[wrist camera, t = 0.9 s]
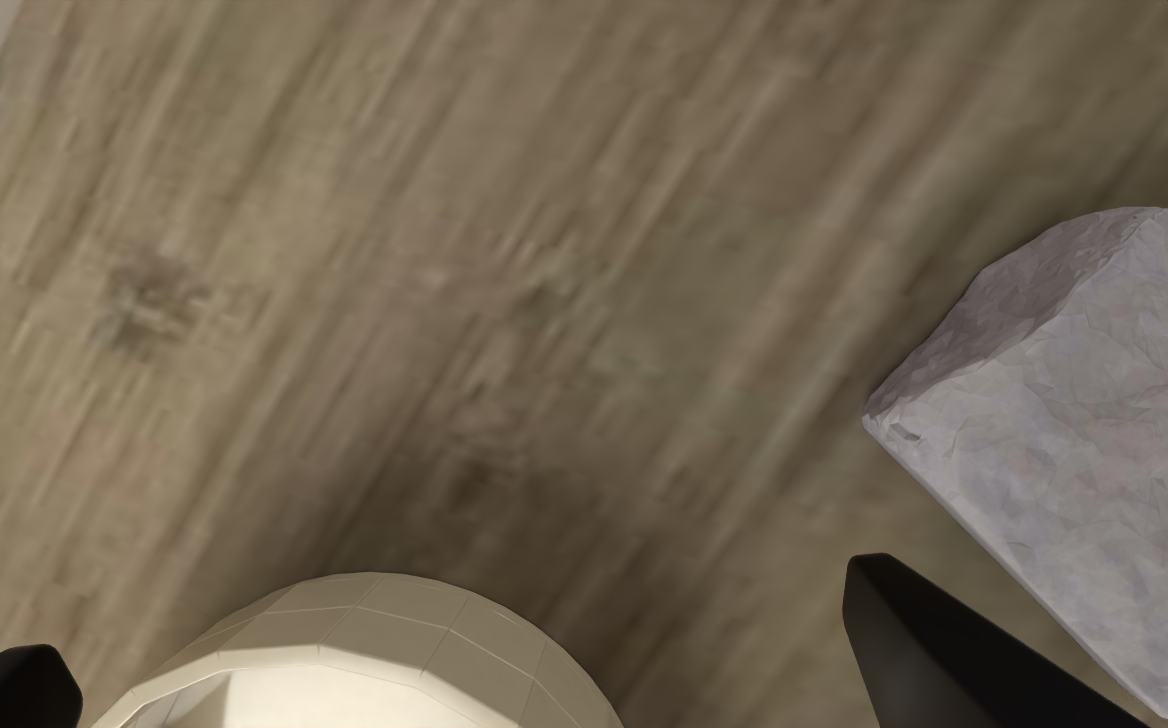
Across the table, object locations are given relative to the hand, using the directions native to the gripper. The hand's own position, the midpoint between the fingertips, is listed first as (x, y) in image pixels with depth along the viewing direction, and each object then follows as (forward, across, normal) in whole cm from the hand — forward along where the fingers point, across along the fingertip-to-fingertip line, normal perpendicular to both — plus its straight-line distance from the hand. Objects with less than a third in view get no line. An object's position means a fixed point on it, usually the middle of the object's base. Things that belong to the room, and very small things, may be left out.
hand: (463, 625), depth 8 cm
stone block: (+11, -17, +6) cm, 21 cm away
